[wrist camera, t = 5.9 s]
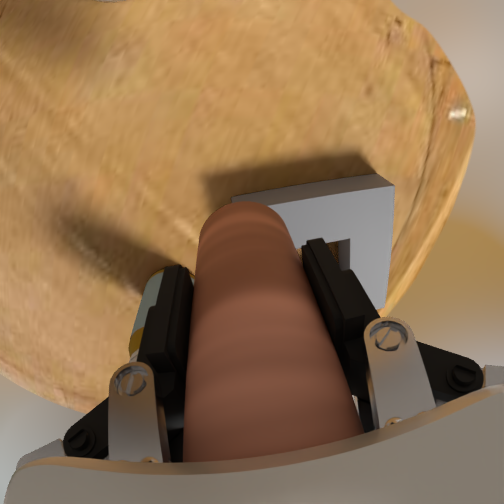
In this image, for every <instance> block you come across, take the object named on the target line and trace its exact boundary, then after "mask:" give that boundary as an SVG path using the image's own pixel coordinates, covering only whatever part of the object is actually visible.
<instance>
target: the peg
mask: <svg viewBox="0 0 504 504" xmlns="http://www.w3.org/2000/svg"><path fill="white" fill-rule="evenodd" d="M364 433H365V432H364V429H363V426H362V423H361V420H360V417H359V414H358V411H357V409H356V406H355V403H354V400H353V397H352V394H351V391H350V388H349V386H348V383H347V380H346V377H345V374H344V372H343V369H342V366H341V363H340V361H339V358H338V355H337V352H336V350H335V347H334V345H333V342H332V339H331V337H330V334H329V331H328V329H327V326H326V323H325V321H324V318H323V316H322V313H321V310H320V308H319V305H318V303H317V300H316V298H315V295H314V293H313V290H312V287H311V285H310V282H309V280H308V277H307V275H306V272H305V270H304V268H303V265H302V263H301V260H300V258H299V255H298V253H297V250H296V248H295V246H294V243H293V241H292V238H291V236H290V234H289V231H288V229H287V226H286V224H285V222H284V221H283V219H282V218H281V217H280V215H279V214H278V213H277V212H275V211H274V210H273V209H271V208H270V207H268V206H266V205H263V204H261V203H257V202H250V201H241V202H235V203H231V204H228V205H225V206H223V207H221V208H219V209H218V210H216V211H215V212H214V213H213V214H212V215H211V216H210V217H209V218H208V219H207V220H206V222H205V223H204V225H203V227H202V229H201V232H200V236H199V245H198V253H197V262H196V270H195V280H194V289H193V299H192V310H191V321H190V332H189V345H188V358H187V373H186V390H185V410H184V435H183V463H186V462H208V461H222V460H234V459H243V458H252V457H259V456H266V455H273V454H279V453H285V452H290V451H296V450H301V449H305V448H310V447H315V446H319V445H323V444H328V443H332V442H336V441H340V440H343V439H347V438H351V437H354V436H358V435H361V434H364Z"/></svg>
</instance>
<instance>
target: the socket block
mask: <svg viewBox="0 0 504 504" xmlns="http://www.w3.org/2000/svg"><path fill="white" fill-rule="evenodd" d="M394 194H395V185H393V184H392V183H390V182H389V181H387V180H386V179H384V178H383V177H382V176H380V175H379V174H370V175H362V176H355V177H347V178H340V179H333V180H327V181H320V182H314V183H307V184H301V185H295V186H289V187H283V188H277V189H272V190H266V191H260V192H255V193H250V194H244V195H239V196H234V197H231V200H232V203H235V202H241V201H250V202H257V203H261V204H263V205H266V206H268V207H270V208H271V209H273V210H274V211H275V212H277V213H278V214H279V215H280V217H281V218H282V219H283V221H284V222H285V224H286V226H287V229H288V231H289V234H290V236H291V238H292V241H293V243H294V246H295V248H296V249H298V248H301V246H302V245H306V241H307V240H311V239H316V238H323V239H324V241H325V243H329V242H334V241H338V258H339V267H340V269H341V270H342V271H343V270H347V269H352V270H353V272H354V273H355V275H356V276H357V278H358V280H359V281H360V283H361V285H362V286H363V288H364V290H365V292H366V293H367V295H368V297H369V298H370V300H371V302H372V304H373V305H374V307H375V309H380V308H384V307H385V300H386V293H387V285H388V277H389V268H390V258H391V247H392V234H393V218H394Z"/></svg>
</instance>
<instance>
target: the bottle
mask: <svg viewBox="0 0 504 504" xmlns="http://www.w3.org/2000/svg"><path fill="white" fill-rule="evenodd" d="M163 272H164V269H163V270H159V271H157V272H156V273H154V274H153V275H152V276H151V277H150V278H149V280H148V282H147V284H146V287H145V290H144V293H143V296H142V300H141V303H140V306H139V310H138V313H137V316H136V320H135V323H134V327H133V330H132V334H131V338H130V343H129V354H130V361H129V363H130V362H136V361H137V356H138V351H139V347H140V342H141V338H142V334H143V329H144V325H145V321H146V317H147V313H148V310H149V307H151V306H155V305H156V301H157V296H158V292H159V288H160V284H161V280H162V276H163ZM189 274H190V273H189ZM190 277H191V280H192V282H193V285H194V280H195V277H194V276H193V275H191V274H190Z"/></svg>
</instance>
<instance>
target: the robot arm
mask: <svg viewBox="0 0 504 504" xmlns="http://www.w3.org/2000/svg"><path fill="white" fill-rule="evenodd" d="M95 1H100V2H119V1H125V0H95ZM301 249H302V260H303V268H304V270H305V272H306V275H307V277H308V280H309V282H310V285H311V287H312V290H313V293H314V295H315V298H316V300H317V303H318V305H319V308H320V310H321V313H322V316H323V318H324V321H325V323H326V326H327V329H328V331H329V334H330V337H331V339H332V342H333V345H334V347H335V350H336V352H337V355H338V358H339V361H340V363H341V366H342V369H343V372H344V374H345V377H346V380H347V383H348V386H349V388H350V391H351V394H352V395H354V400H355V406H356V409H357V411H358V414H359V417H360V420H361V423H362V426H363V429H364V432H365V433H364V434H361V435H358V436H354V437H351V438H347V439H343V440H340V441H336V442H332V443H328V444H323V445H319V446H315V447H310V448H305V449H301V450H296V451H290V452H285V453H279V454H273V455H266V456H259V457H252V458H243V459H234V460H222V461H208V462H186V463H183V435H184V410H185V390H186V373H187V358H188V345H189V332H190V321H191V310H192V299H193V289H194V285H193V282H192V280H191V277H190V274H189V271H188V269H187V268H182V266H181V265H174V266H169V267H165V269H164V272H163V276H162V280H161V284H160V288H159V292H158V296H157V301H156V305H155V306H151V307H149V310H148V313H147V317H146V321H145V325H144V329H143V334H142V338H141V342H140V347H139V351H138V356H137V361H136V362H130V363H127V364H125V365H123V366H121V367H120V368H118V369H117V371H116V372H115V373H114V374H113V376H112V378H111V380H110V384H109V397H108V398H106V399H105V400H104V401H103V402H101V403H100V404H99V405H98V406H96V407H95V408H94V409H93V410H91V411H90V412H89V413H88V414H86V415H85V416H84V417H83V418H82V419H80V420H79V421H78V422H76V423H75V424H74V425H73V426H71V427H70V429H69V430H68V431H67V433H66V434H65V436H64V440H63V441H62V440H61V439H57V440H55V441H53V442H51V443H49V444H47V445H45V446H43V447H41V448H39V449H37V450H35V451H33V452H31V453H29V454H26V455H24V456H23V457H22V458H20V460H19V461H18V463H17V467H16V471H15V472H14V474H13V475H12V478H11V480H10V482H9V485H8V488H7V492H6V495H5V499H4V504H504V367H502V366H492V365H485V367H484V368H480V366H479V365H478V364H477V363H475V361H474V360H471V359H469V358H467V357H463V356H461V355H458V354H454V353H451V352H448V351H445V350H442V349H439V348H436V347H433V346H430V345H427V344H424V343H421V342H418V341H416V340H415V337H414V334H413V332H412V330H411V328H410V326H409V325H408V324H406V323H405V322H404V321H402V320H400V319H398V318H393V317H382V318H380V316H379V314H378V312H377V310H376V309H375V307H374V305H373V304H372V302H371V300H370V298H369V297H368V295H367V293H366V292H365V290H364V288H363V286H362V285H361V283H360V281H359V280H358V278H357V276H356V275H355V273H354V272H353V270H352V269H347V270H343V271H342V270H341V269H340V267H339V265H338V263H337V262H336V260H335V258H334V256H333V255H332V253H331V251H330V250H329V248H328V246H327V244H326V243H325V241H324V239H323V238H316V239H311V240H307V241H306V245H302V246H301Z"/></svg>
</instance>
